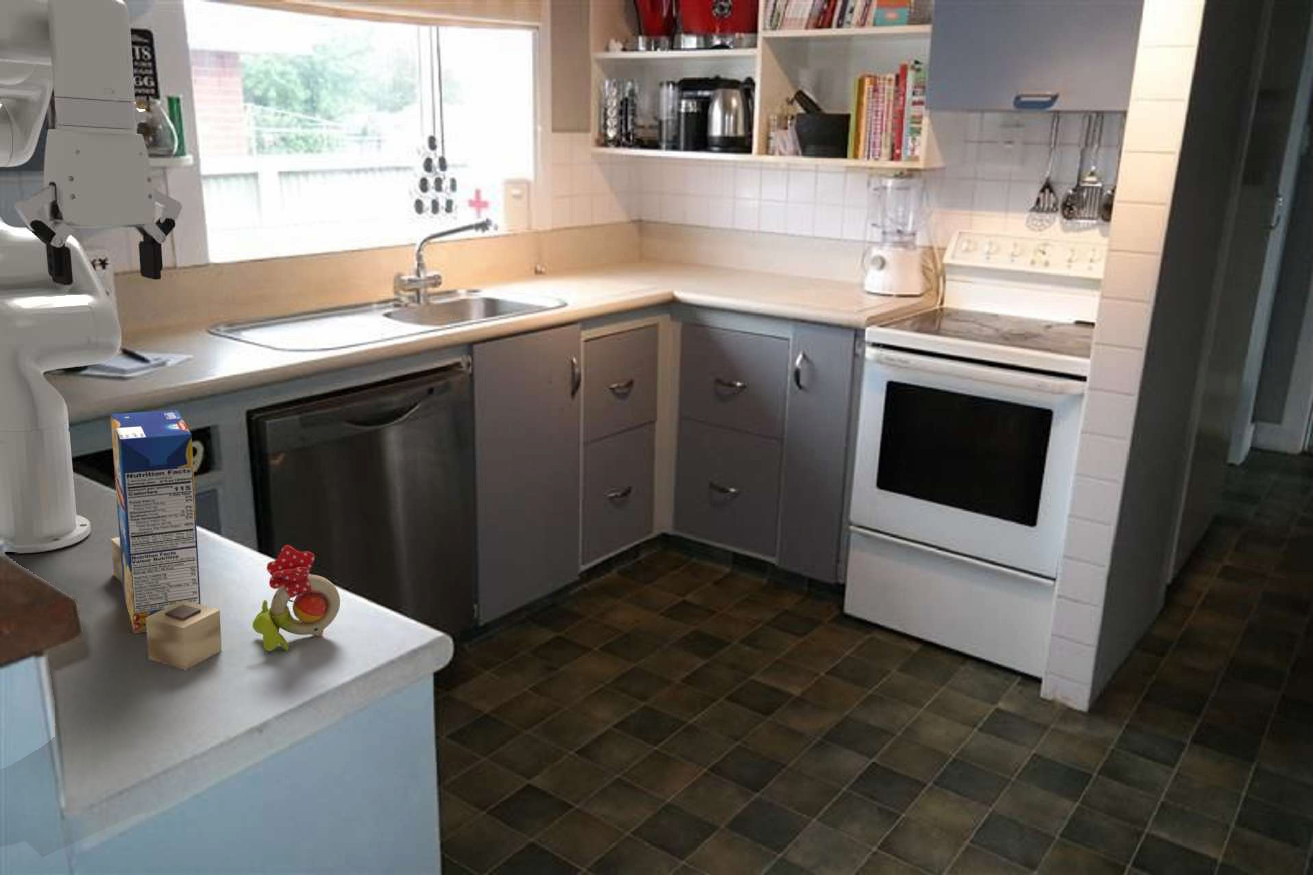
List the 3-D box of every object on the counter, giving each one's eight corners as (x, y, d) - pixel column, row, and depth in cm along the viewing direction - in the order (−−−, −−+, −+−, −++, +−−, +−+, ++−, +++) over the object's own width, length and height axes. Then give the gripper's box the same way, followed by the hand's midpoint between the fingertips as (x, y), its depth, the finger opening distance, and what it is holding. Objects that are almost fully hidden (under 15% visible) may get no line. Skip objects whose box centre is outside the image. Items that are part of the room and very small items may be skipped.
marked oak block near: (148, 659, 112) (145, 614, 110) (185, 640, 116) (183, 597, 115) (185, 670, 110) (182, 625, 109) (221, 651, 114) (219, 607, 113)
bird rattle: (310, 640, 122) (232, 624, 117) (348, 552, 122) (271, 532, 117) (324, 665, 117) (243, 648, 112) (364, 573, 117) (285, 552, 111)
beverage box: (134, 633, 117) (120, 439, 111) (123, 595, 126) (110, 414, 120) (201, 622, 120) (191, 434, 114) (186, 586, 129) (176, 409, 123)
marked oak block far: (113, 575, 131) (110, 536, 130) (156, 566, 134) (153, 528, 133) (127, 589, 128) (124, 549, 126) (170, 579, 131) (168, 540, 130)
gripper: (156, 121, 122) (165, 272, 126) (-9, 111, 108) (7, 281, 113) (193, 124, 117) (200, 280, 122) (26, 114, 104) (41, 290, 108)
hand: (108, 280), depth 117 cm, fingers open, 9 cm apart
